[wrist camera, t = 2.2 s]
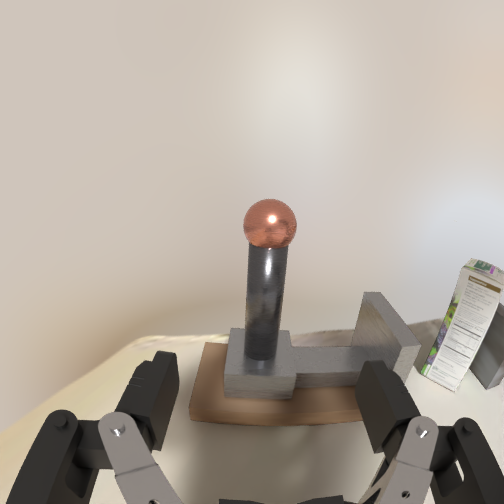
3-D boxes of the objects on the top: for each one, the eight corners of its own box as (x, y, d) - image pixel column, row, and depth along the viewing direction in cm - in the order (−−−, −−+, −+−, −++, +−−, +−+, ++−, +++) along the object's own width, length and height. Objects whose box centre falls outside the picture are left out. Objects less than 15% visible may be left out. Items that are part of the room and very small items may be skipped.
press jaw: (365, 343, 31) (396, 204, 25) (394, 402, 21) (455, 229, 16) (231, 342, 31) (236, 189, 25) (222, 408, 21) (222, 208, 16)
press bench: (465, 345, 31) (486, 292, 28) (498, 384, 22) (528, 327, 19) (206, 355, 31) (203, 287, 28) (190, 419, 22) (180, 347, 19)
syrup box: (434, 354, 30) (469, 255, 26) (467, 371, 26) (508, 270, 21) (419, 374, 27) (460, 264, 23) (455, 394, 23) (506, 282, 18)
